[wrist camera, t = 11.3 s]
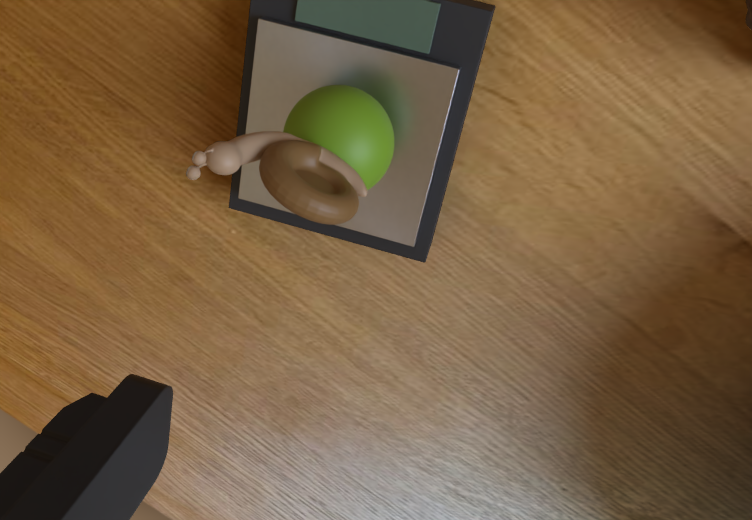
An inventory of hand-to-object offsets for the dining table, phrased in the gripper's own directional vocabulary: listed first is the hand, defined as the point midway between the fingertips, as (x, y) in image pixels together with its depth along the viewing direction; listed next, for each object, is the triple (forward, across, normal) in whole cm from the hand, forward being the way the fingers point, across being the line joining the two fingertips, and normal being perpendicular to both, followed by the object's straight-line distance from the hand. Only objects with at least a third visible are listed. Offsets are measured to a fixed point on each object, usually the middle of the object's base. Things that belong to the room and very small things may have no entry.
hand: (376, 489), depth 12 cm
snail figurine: (+25, +7, +2) cm, 26 cm away
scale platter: (+26, +7, +3) cm, 27 cm away
